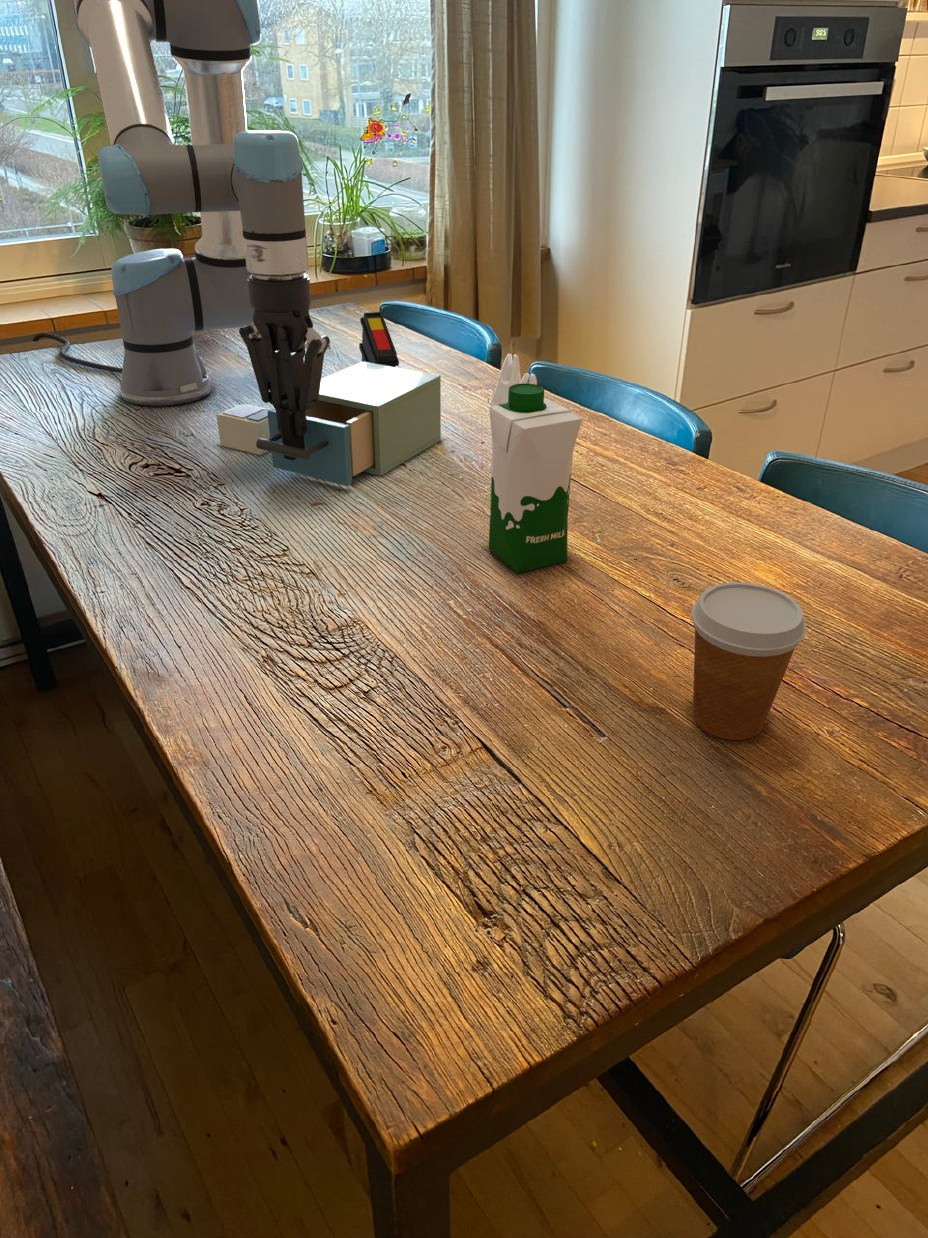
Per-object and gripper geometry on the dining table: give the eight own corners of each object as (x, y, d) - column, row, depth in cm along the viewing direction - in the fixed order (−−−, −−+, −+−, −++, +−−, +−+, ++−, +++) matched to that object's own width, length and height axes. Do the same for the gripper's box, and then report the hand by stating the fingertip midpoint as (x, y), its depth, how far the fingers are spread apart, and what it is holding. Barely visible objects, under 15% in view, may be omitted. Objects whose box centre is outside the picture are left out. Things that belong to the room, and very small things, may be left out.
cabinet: (380, 476, 131) (378, 406, 126) (301, 456, 137) (295, 389, 132) (440, 440, 144) (440, 375, 138) (365, 424, 150) (362, 361, 144)
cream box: (220, 445, 141) (215, 412, 138) (246, 433, 145) (242, 401, 142) (260, 455, 137) (256, 422, 134) (286, 443, 142) (283, 410, 139)
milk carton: (539, 533, 116) (548, 377, 105) (578, 563, 109) (593, 400, 99) (478, 547, 112) (481, 387, 102) (515, 579, 106) (523, 412, 95)
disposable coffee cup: (662, 690, 87) (679, 581, 81) (759, 686, 88) (783, 577, 82) (692, 755, 79) (713, 639, 73) (798, 749, 80) (828, 634, 74)
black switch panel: (376, 379, 165) (382, 310, 152) (394, 431, 158) (402, 363, 146) (355, 380, 164) (360, 311, 151) (373, 433, 157) (379, 365, 145)
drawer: (322, 501, 121) (317, 440, 117) (246, 480, 127) (239, 422, 122) (408, 450, 137) (407, 395, 133) (337, 434, 142) (334, 381, 138)
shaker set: (488, 414, 154) (490, 348, 148) (511, 411, 156) (513, 346, 150) (518, 438, 145) (521, 368, 139) (542, 435, 146) (546, 366, 140)
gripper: (216, 273, 111) (239, 455, 124) (301, 285, 106) (316, 474, 118) (256, 263, 117) (274, 438, 129) (339, 274, 112) (350, 456, 124)
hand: (294, 455), depth 124 cm, fingers closed
